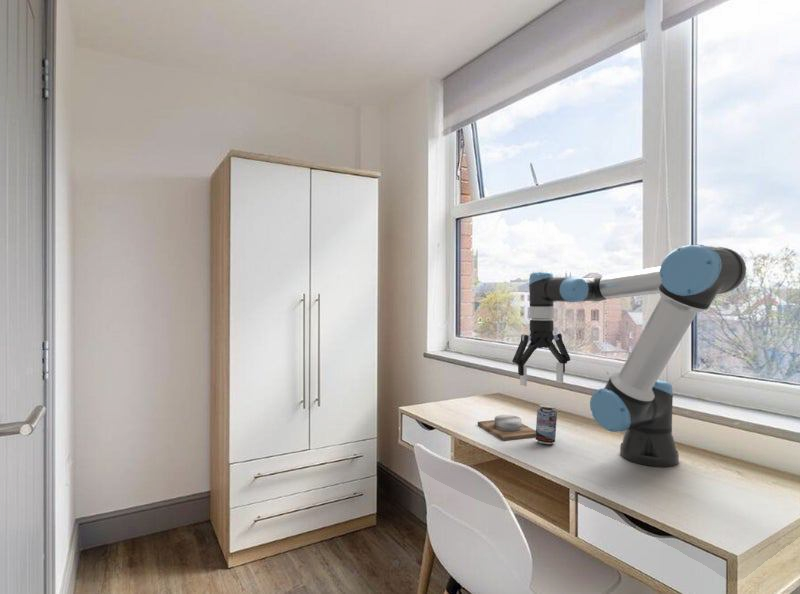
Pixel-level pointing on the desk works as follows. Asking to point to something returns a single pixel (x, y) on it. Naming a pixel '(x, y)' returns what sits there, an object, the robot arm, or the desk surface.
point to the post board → (507, 434)
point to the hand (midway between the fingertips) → (541, 384)
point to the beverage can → (546, 424)
